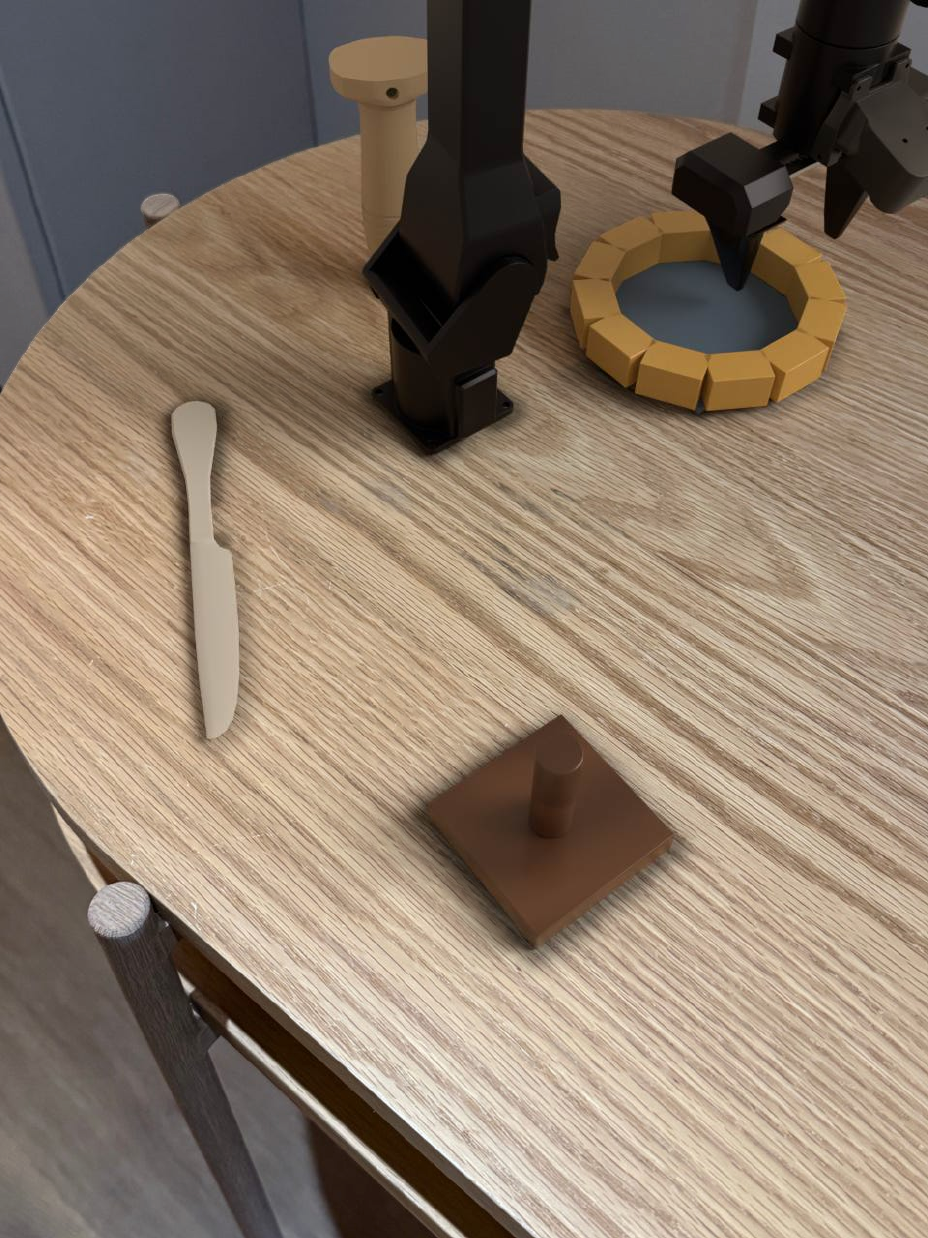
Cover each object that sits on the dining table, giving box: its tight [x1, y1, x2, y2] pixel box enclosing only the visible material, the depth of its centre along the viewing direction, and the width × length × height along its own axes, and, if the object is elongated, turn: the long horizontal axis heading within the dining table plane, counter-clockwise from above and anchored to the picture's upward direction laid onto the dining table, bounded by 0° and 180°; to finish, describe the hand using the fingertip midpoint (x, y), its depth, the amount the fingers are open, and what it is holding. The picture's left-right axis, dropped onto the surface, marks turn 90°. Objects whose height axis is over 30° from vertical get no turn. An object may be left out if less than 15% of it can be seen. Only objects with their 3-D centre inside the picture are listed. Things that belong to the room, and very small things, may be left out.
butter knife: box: [171, 400, 240, 740], centre depth 63 cm, size 1×24×3 cm
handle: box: [328, 35, 428, 258], centre depth 72 cm, size 5×6×15 cm
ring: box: [569, 209, 848, 412], centre depth 73 cm, size 17×17×2 cm
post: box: [427, 714, 675, 950], centre depth 50 cm, size 8×8×8 cm
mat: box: [615, 260, 799, 415], centre depth 75 cm, size 12×12×1 cm
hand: (784, 261), depth 76 cm, fingers open, 9 cm apart
